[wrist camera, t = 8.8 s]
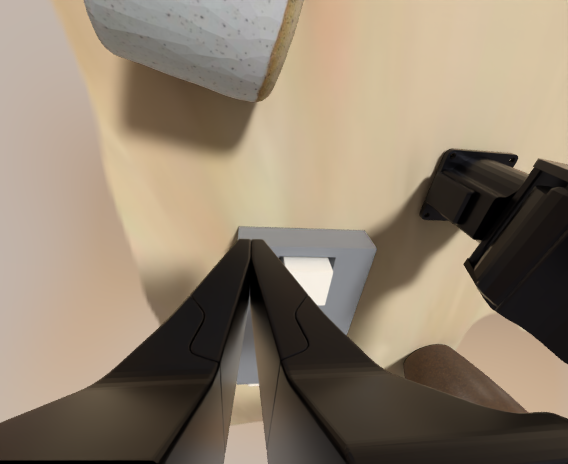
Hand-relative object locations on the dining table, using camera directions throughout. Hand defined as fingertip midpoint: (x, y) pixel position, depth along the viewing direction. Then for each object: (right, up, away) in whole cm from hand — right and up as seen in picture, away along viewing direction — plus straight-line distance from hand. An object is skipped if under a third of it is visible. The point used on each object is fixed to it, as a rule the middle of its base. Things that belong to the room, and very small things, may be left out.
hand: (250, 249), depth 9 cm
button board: (+2, -8, +21) cm, 22 cm away
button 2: (+3, -2, +17) cm, 17 cm away
